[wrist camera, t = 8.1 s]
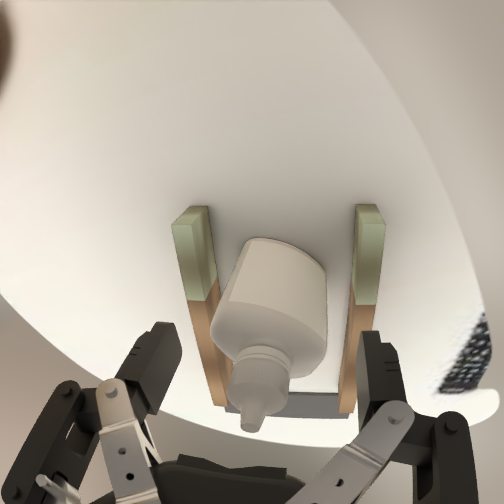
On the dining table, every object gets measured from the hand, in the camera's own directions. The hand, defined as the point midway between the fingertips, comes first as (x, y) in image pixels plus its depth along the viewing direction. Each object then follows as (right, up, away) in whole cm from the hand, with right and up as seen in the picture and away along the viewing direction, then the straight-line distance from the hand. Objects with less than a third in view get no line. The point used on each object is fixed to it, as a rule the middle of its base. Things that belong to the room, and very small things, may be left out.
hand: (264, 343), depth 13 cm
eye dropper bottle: (+1, +3, +8) cm, 9 cm away
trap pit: (+3, -10, +14) cm, 18 cm away
